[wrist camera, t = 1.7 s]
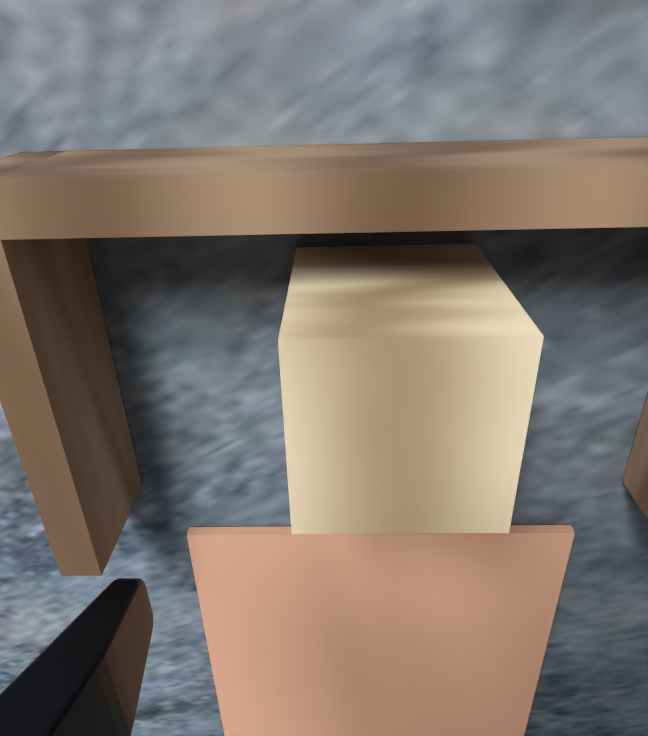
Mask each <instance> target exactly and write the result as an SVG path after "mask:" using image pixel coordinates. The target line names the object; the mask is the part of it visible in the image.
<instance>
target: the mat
mask: <svg viewBox="0 0 648 736" xmlns="http://www.w3.org/2000/svg"><path fill="white" fill-rule="evenodd" d="M574 535H575V532H574V530H573V528H572V526H571V525H510V530H509V533H420V534H292V531H291V527H189V529H188V532H187V540H188V545H189V550H190V556H191V561H192V566H193V571H194V577H195V582H196V587H197V592H198V598H199V603H200V608H201V613H202V619H203V624H204V629H205V634H206V640H207V645H208V650H209V655H210V661H211V666H212V671H213V676H214V682H215V687H216V692H217V697H218V703H219V708H220V713H221V718H222V724H223V729H224V734H225V736H524V734H525V730H526V726H527V722H528V718H529V714H530V710H531V706H532V702H533V698H534V694H535V690H536V686H537V683H538V679H539V675H540V671H541V667H542V663H543V659H544V655H545V651H546V647H547V643H548V639H549V635H550V631H551V627H552V623H553V619H554V615H555V611H556V607H557V603H558V599H559V595H560V591H561V587H562V583H563V579H564V575H565V571H566V567H567V563H568V559H569V555H570V551H571V547H572V543H573V539H574Z"/></svg>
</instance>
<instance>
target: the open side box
mask: <svg viewBox="0 0 648 736" xmlns="http://www.w3.org/2000/svg"><path fill="white" fill-rule="evenodd" d="M616 227H648V137H625V138H584V139H543V140H501V141H460V142H419V143H378V144H337V145H295V146H254V147H213V148H172V149H131V150H89V151H48V152H19V153H16V154H13V155H10V156H6V157H3V158H0V402H1V404H2V407H3V410H4V413H5V416H6V419H7V422H8V425H9V427H10V430H11V433H12V436H13V439H14V442H15V445H16V447H17V450H18V453H19V456H20V459H21V462H22V465H23V468H24V470H25V473H26V476H27V479H28V482H29V485H30V488H31V490H32V493H33V496H34V499H35V502H36V505H37V508H38V510H39V513H40V516H41V519H42V522H43V525H44V528H45V531H46V533H47V536H48V539H49V542H50V545H51V548H52V551H53V553H54V556H55V559H56V562H57V565H58V568H59V571H60V574H61V576H102V574H103V571H104V569H105V567H106V565H107V562H108V560H109V558H110V556H111V554H112V551H113V549H114V547H115V545H116V542H117V540H118V538H119V536H120V534H121V531H122V529H123V527H124V525H125V522H126V520H127V518H128V516H129V514H130V511H131V509H132V507H133V505H134V502H135V500H136V498H137V496H138V493H139V491H140V489H141V487H142V483H141V478H140V474H139V470H138V465H137V461H136V457H135V452H134V448H133V443H132V439H131V435H130V430H129V426H128V421H127V417H126V413H125V408H124V404H123V400H122V395H121V391H120V386H119V382H118V378H117V373H116V369H115V364H114V360H113V356H112V351H111V347H110V343H109V338H108V334H107V329H106V325H105V321H104V316H103V312H102V307H101V303H100V299H99V294H98V290H97V286H96V281H95V277H94V272H93V268H92V264H91V259H90V255H89V250H88V246H87V242H86V238H116V237H166V236H216V235H266V234H316V233H366V232H416V231H466V230H516V229H566V228H616ZM622 482H623V483H624V485H625V486H626V488H627V489H628V491H629V492H630V494H631V495H632V497H633V498H634V500H635V501H636V503H637V504H638V506H639V507H640V509H641V510H642V512H643V513H644V515H645V516H646V518H647V519H648V394H647V398H646V401H645V405H644V408H643V412H642V415H641V419H640V422H639V426H638V429H637V433H636V436H635V439H634V443H633V446H632V450H631V453H630V457H629V460H628V464H627V467H626V471H625V474H624V478H623V481H622Z"/></svg>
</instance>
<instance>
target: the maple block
mask: <svg viewBox="0 0 648 736" xmlns="http://www.w3.org/2000/svg"><path fill="white" fill-rule="evenodd" d="M543 338H544V336H543V335H542V333H541V332H540V331H539V329H538V328H537V327H536V325H535V324H534V322H533V321H532V320H531V318H530V317H529V316H528V314H527V313H526V312H525V310H524V309H523V308H522V306H521V305H520V303H519V302H518V301H517V299H516V298H515V297H514V295H513V294H512V293H511V291H510V290H509V289H508V287H507V286H506V284H505V283H504V282H503V280H502V279H501V278H500V276H499V275H498V274H497V272H496V271H495V270H494V268H493V267H492V265H491V264H490V263H489V261H488V260H487V259H486V257H485V256H484V255H483V253H482V252H481V251H480V249H479V248H478V246H477V245H476V244H448V245H396V246H345V247H297V249H296V253H295V258H294V263H293V268H292V273H291V278H290V283H289V288H288V293H287V298H286V303H285V308H284V313H283V318H282V323H281V328H280V333H279V338H278V348H279V362H280V376H281V390H282V404H283V418H284V433H285V447H286V461H287V475H288V489H289V503H290V517H291V531H292V534H420V533H509V530H510V525H511V519H512V513H513V508H514V502H515V496H516V491H517V485H518V479H519V474H520V468H521V462H522V457H523V451H524V445H525V440H526V434H527V428H528V423H529V417H530V412H531V406H532V400H533V395H534V389H535V383H536V378H537V372H538V366H539V361H540V355H541V349H542V344H543Z"/></svg>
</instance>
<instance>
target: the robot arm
mask: <svg viewBox="0 0 648 736" xmlns="http://www.w3.org/2000/svg"><path fill="white" fill-rule="evenodd" d="M152 629H153V613H152V609H151V605H150V601H149V597H148V593H147V589H146V585H145V583H144V581H143V580H142V579H139V578H121V579H117V580H115V581H113V582H112V583H111V584H110V585H109V586H108V587H107V588H106V589H105V590H104V591H103V592H102V593H101V594H100V595H99V596H98V597H97V598H96V599H95V600H94V601H93V602H92V603H91V604H90V605H89V606H88V607H87V608H86V609H85V610H84V611H83V612H82V613H81V614H80V615H79V616H78V617H77V618H76V619H75V620H74V621H73V622H72V623H71V624H70V625H69V626H68V627H67V628H66V629H65V630H64V631H63V632H62V633H61V634H60V635H59V636H58V637H57V638H56V639H55V640H54V641H53V642H52V643H51V644H50V645H49V646H48V647H47V648H46V649H45V650H44V651H43V652H42V653H41V654H40V655H39V656H38V657H37V658H36V659H35V660H34V661H33V662H32V663H31V664H30V665H29V666H28V667H27V668H26V669H25V670H24V671H23V672H22V673H21V674H20V675H19V676H18V677H17V678H16V679H15V680H14V681H13V682H12V683H11V684H10V685H9V686H8V687H7V688H6V689H5V690H4V691H3V692H2V693H1V694H0V736H131V732H132V728H133V723H134V719H135V714H136V709H137V704H138V699H139V694H140V689H141V684H142V679H143V674H144V669H145V664H146V659H147V654H148V649H149V645H150V640H151V635H152Z"/></svg>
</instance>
